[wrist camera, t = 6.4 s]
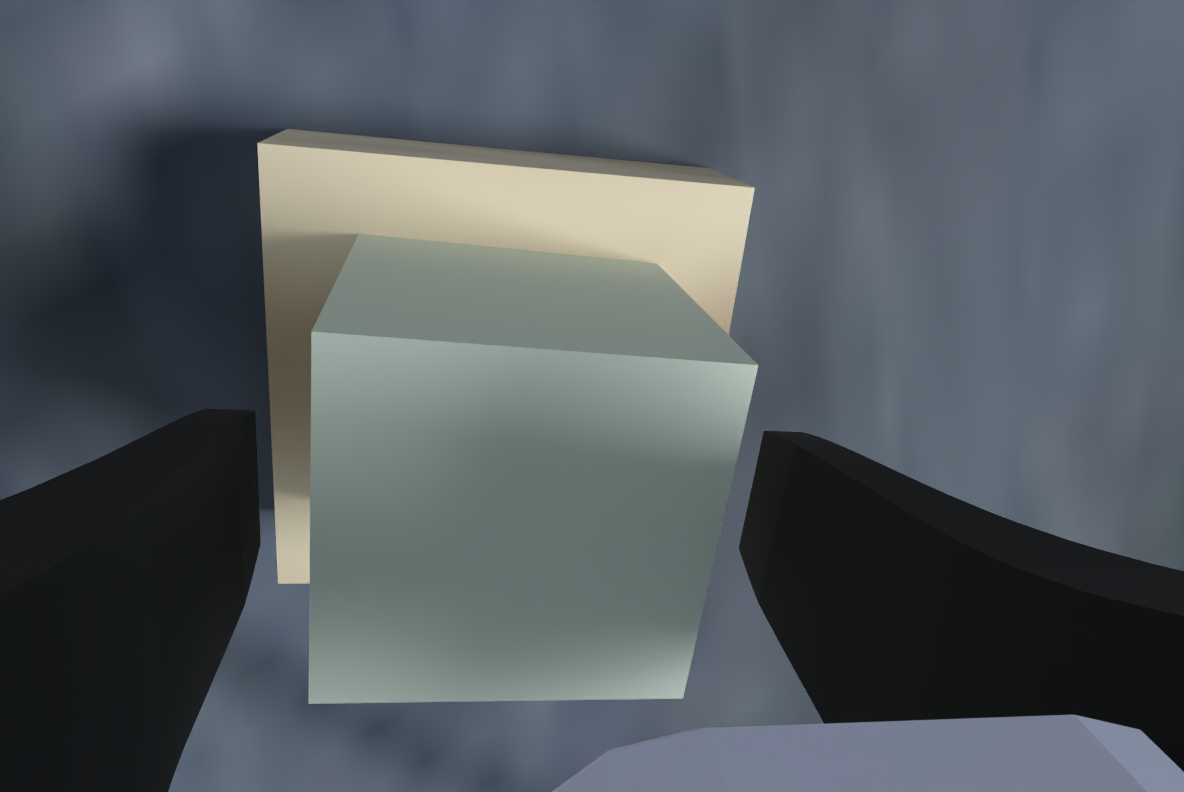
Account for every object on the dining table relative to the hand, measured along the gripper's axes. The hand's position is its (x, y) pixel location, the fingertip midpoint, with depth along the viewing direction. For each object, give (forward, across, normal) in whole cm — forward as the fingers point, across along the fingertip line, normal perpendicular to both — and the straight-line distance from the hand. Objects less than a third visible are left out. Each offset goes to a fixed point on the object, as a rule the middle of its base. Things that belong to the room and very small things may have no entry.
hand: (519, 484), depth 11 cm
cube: (+3, 0, 0) cm, 3 cm away
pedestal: (+6, 0, 0) cm, 6 cm away
